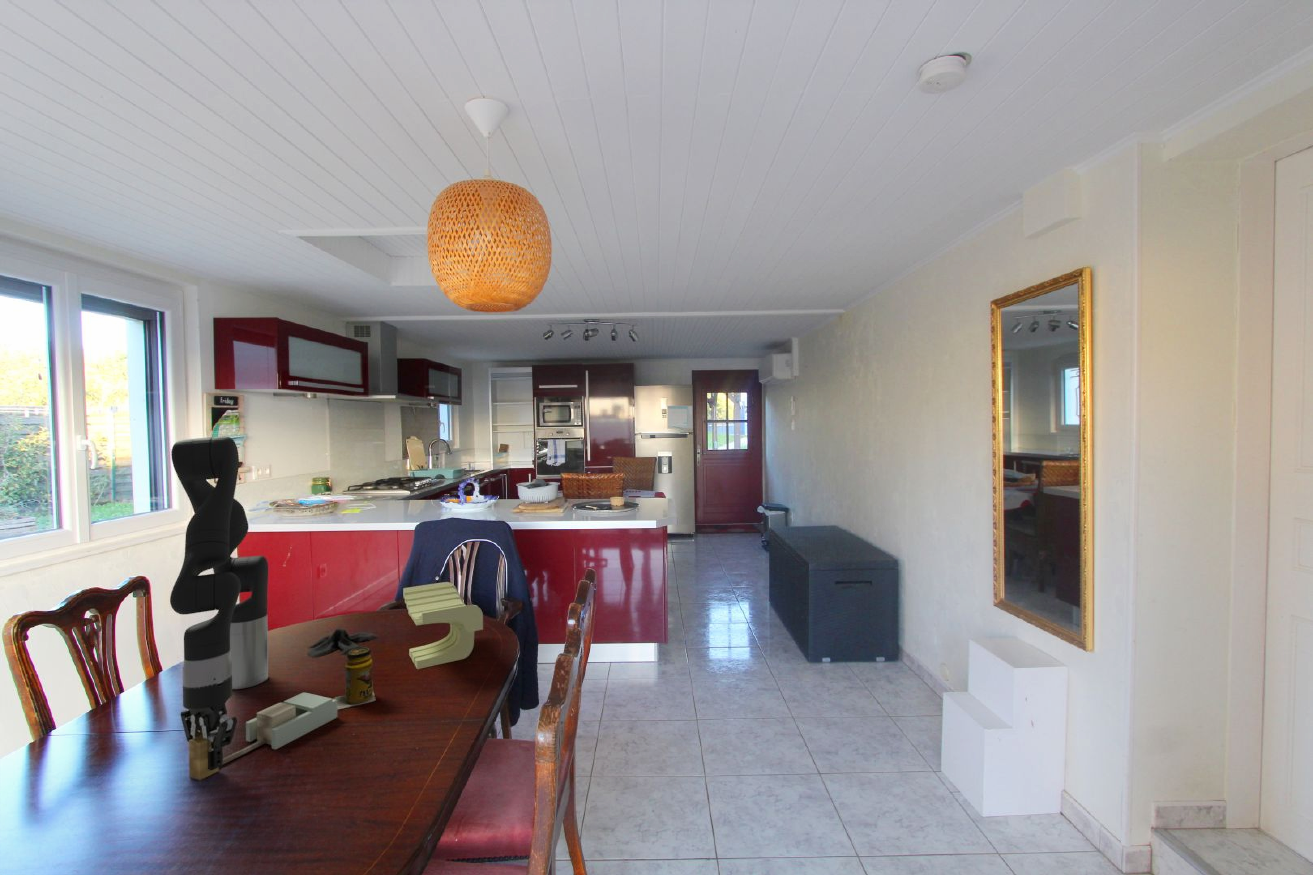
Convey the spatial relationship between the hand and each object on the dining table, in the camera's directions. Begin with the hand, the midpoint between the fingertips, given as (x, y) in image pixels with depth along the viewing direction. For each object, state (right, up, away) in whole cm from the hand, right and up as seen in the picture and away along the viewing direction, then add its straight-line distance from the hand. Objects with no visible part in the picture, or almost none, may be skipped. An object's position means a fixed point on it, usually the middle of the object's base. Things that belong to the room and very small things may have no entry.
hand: (209, 765), depth 109 cm
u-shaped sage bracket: (+6, -1, +16) cm, 17 cm away
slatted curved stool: (+23, -1, +57) cm, 61 cm away
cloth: (-13, -2, +65) cm, 67 cm away
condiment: (+13, -1, +29) cm, 32 cm away
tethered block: (+2, -1, +6) cm, 7 cm away
